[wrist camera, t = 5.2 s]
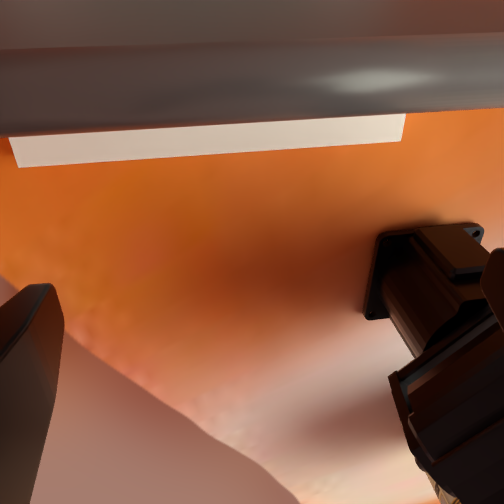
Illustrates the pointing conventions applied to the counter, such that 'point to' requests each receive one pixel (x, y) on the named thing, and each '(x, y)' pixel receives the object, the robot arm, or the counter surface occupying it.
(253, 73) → the lever
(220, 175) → the counter surface
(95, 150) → the switch plate
